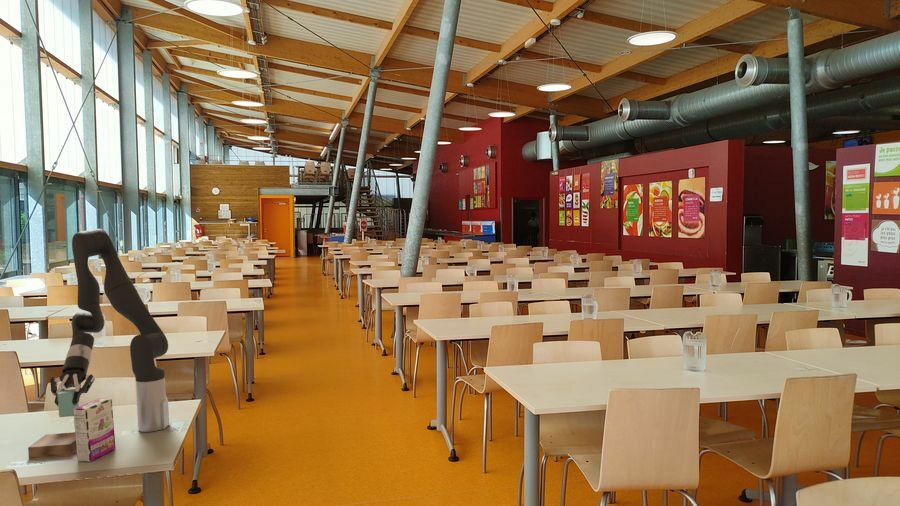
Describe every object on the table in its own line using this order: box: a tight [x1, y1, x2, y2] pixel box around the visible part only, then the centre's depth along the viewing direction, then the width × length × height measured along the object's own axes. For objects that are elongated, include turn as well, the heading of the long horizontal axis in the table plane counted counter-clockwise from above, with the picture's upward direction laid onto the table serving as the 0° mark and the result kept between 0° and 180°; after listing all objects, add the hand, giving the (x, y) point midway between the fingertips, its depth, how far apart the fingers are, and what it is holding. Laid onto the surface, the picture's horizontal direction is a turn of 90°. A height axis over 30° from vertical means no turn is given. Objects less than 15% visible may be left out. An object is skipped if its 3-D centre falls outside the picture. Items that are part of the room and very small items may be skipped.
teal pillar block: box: [57, 388, 80, 418], centre depth 222 cm, size 4×4×8 cm
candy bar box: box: [73, 397, 117, 463], centre depth 203 cm, size 11×5×16 cm, turn 168°
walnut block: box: [27, 431, 77, 460], centre depth 209 cm, size 12×12×4 cm
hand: (66, 404), depth 220 cm, fingers closed on teal pillar block, 4 cm apart
